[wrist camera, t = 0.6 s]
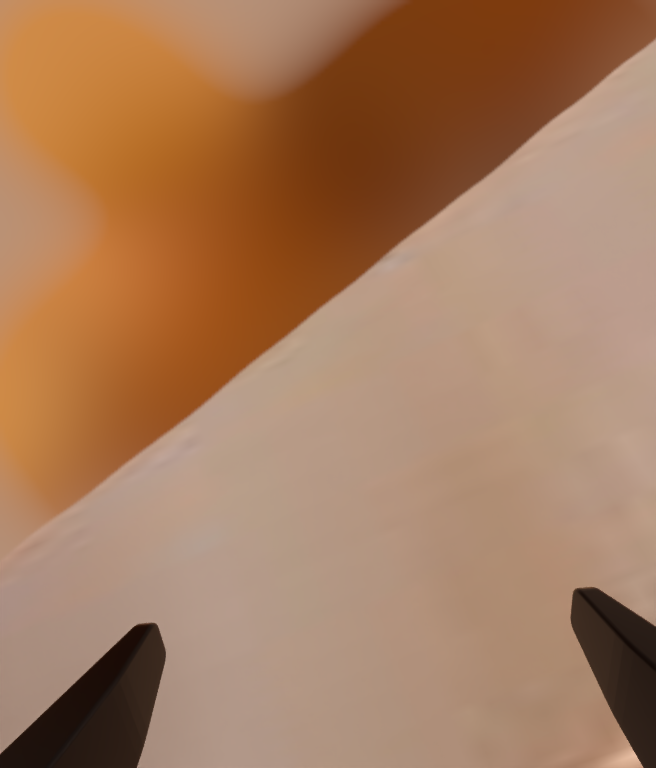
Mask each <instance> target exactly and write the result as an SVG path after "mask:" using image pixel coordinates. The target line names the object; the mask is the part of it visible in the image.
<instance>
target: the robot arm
mask: <svg viewBox="0 0 656 768" xmlns="http://www.w3.org/2000/svg"><path fill="white" fill-rule="evenodd" d="M571 624H572V627H573V630H574V632H575V635H576V637H577V639H578V641H579V643H580V645H581V647H582V650H583V652H584V654H585V656H586V658H587V660H588V662H589V665H590V667H591V669H592V671H593V673H594V675H595V677H596V679H597V682H598V684H599V686H600V688H601V690H602V692H603V694H604V697H605V699H606V701H607V703H608V705H609V707H610V709H611V711H612V713H613V715H614V717H615V718H616V720H617V722H618V724H619V726H620V727H621V729H622V731H623V733H624V734H625V736H626V738H627V740H628V741H629V743H630V745H631V747H632V748H633V750H634V752H635V754H636V755H637V757H638V759H639V761H640V762H641V764H642V766H643V767H644V768H656V626H654V625H653V624H651V623H650V622H648V621H647V620H645V619H644V618H642V617H641V616H639V615H638V614H636V613H635V612H633V611H632V610H630V609H628V608H627V607H625V606H624V605H622V604H621V603H619V602H618V601H616V600H615V599H613V598H612V597H610V596H609V595H607V594H606V593H604V592H603V591H601V590H599V589H597V588H595V587H585V588H577V589H575V590H574V591H573V597H572V608H571ZM165 658H166V651H165V647H164V643H163V640H162V637H161V634H160V631H159V628H158V625H157V624H155V623H143V624H138V625H136V626H134V627H133V628H132V629H131V630H130V631H129V632H128V633H127V634H126V635H125V636H124V637H123V638H121V639H120V640H119V641H118V642H117V643H116V644H115V645H114V646H113V647H112V648H111V649H110V650H109V651H108V652H107V653H106V654H105V655H104V656H103V657H102V658H101V659H99V660H98V661H97V662H96V663H95V664H94V665H93V666H92V667H91V668H90V669H89V670H88V671H87V672H86V673H85V674H84V675H83V676H82V677H81V678H80V679H79V680H77V681H76V682H75V683H74V684H73V685H72V686H71V687H70V688H69V689H68V690H67V691H66V692H65V693H64V694H63V695H62V696H61V697H60V698H59V699H58V700H57V701H55V702H54V703H53V704H52V705H51V706H50V707H49V708H48V709H47V710H46V711H45V712H44V713H43V714H42V715H41V716H40V717H39V718H38V719H37V720H36V721H35V722H33V723H32V724H31V725H30V726H29V727H28V728H27V729H26V730H25V731H24V732H23V733H22V734H21V735H20V736H19V737H18V738H17V739H16V740H15V741H14V742H13V743H11V744H10V745H9V746H8V747H7V748H6V749H5V750H4V751H3V752H2V753H1V754H0V768H137V765H138V762H139V759H140V756H141V753H142V750H143V747H144V743H145V740H146V736H147V732H148V728H149V724H150V720H151V716H152V712H153V708H154V704H155V700H156V696H157V692H158V688H159V684H160V680H161V676H162V672H163V668H164V664H165Z"/></svg>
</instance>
